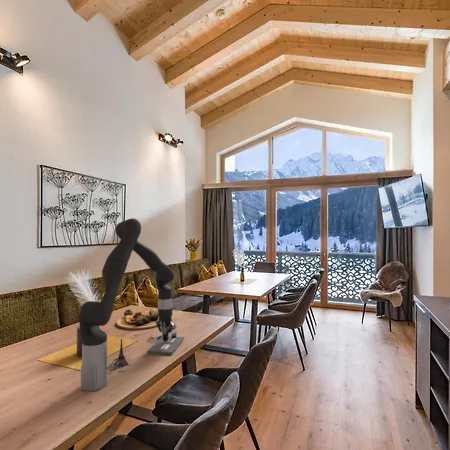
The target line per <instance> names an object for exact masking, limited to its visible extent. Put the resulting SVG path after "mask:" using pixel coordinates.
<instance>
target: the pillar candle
mask: <svg viewBox="0 0 450 450" xmlns="http://www.w3.org/2000/svg"><path fill="white" fill-rule="evenodd" d="M97 327H98V328H99V326H97ZM75 353H76V356H78V357H81V358H82V339H81V336H80V324H79V325H78V326H76V352H75Z"/></svg>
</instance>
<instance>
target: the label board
mask: <svg viewBox="0 0 450 450" xmlns="http://www.w3.org/2000/svg"><path fill="white" fill-rule="evenodd" d="M183 340H184V341H185V336H176V338H172V337H171V335H169V336H168V341H163V339H161V340H159V341H157V342H155V343H153V344H152V345H151V346H150V347H149V348H148V349H147V351H146V354H147V355H162V356H173V355H174V353H176V351H177V350H178V349H179V347H180V346H181V344H182V343H183V342H184V341H183Z"/></svg>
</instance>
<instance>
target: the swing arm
mask: <svg viewBox="0 0 450 450" xmlns="http://www.w3.org/2000/svg"><path fill="white" fill-rule="evenodd" d="M177 332H178V329H177V325H176V324H175V327H174V328H173V330H172V332H171V333H168V336H171V337H172V338H176V337H177ZM161 339H163V334H162V332H160V331H159V332H158V333H156V334H153V335H150V336H149V337H147V338H146V342H147V343H149V344H155V343H156V342H157V341H159V340H161Z"/></svg>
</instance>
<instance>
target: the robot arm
mask: <svg viewBox="0 0 450 450" xmlns="http://www.w3.org/2000/svg"><path fill="white" fill-rule="evenodd" d="M114 230H115V231H114V232H115V234H116V236H117V237H118V238H119V240H120V241H119V242H118V243H117V245H116V246H115V247H114V249H113V250H111V252H110V253H109V255H108V256H107V258H106V259H105V262H104V265H103V268H102V270H101V276H102V277H101V278H102V281H103V285H104V293H103V296H102V299H101V301H96V300H95V301H91V300H89V301H86V302H84V303H82V305H81V307H80V310H79V325H80V336H81V339H82V357H81V365H80V391H87V392H96V391H97V390H100V389H102V388H104V387H106V386H107V384H108V374H107V373H108V370H107V367H108V335H107V332H106V331H104V330H102V329H101V328H99V327H103V326H106V325H107V324H108V323H109V322H110V320H111V317H112V314H113V311H114V307H115V303H116V300H117V295H118V292H119V290H120V289H119V288H120V286H121V283H122V280H123V278H124V275H125V274H126V273H125V272H126V270H127V266H128V263H129V261H130V258H131V256H132V253H133V251H134V253H135V254H137V256H138V257H140V259H141V260H142V261H143V262H144V263H145V264H146V265H147V266H148V268H149V269H150V270H151V271H153V272H155V273H156V274H155V283H156V288H157V292H158V293H157V294H158V295H157V296H158V297H157V312H158V317H159V320H158V321H156V325H157V327H156V328H158V331H159V333H160V332H162V334H163V341H168V333H171V332H172V330H173V328H174V327H175V325H176V323H173V318H172V316H173V313H174V312H173V295H172V294H173V292H172V291H173V290H172V288H171V287H170V286H169V284H170V283H171V282H173V281H174V279H175V273H174V271H173V270H172V269H171V267H170V266H169V265H167V264H166V263H165V262H164V261H163V260H162V259H161V258H160V256H159V255H158V254H157V253H156V252H155V251H154V249H152V248H150V247H148V245H146V244H143V243H142V242H141V241H140V240H138V239H139V237H140V235H141V234H142V233H141V232H142V224H141V222H140V220H138V219H137V218H129V219H126V220H123V221H121V222H118V224H116V226H115V229H114ZM97 326H98V327H97Z"/></svg>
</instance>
